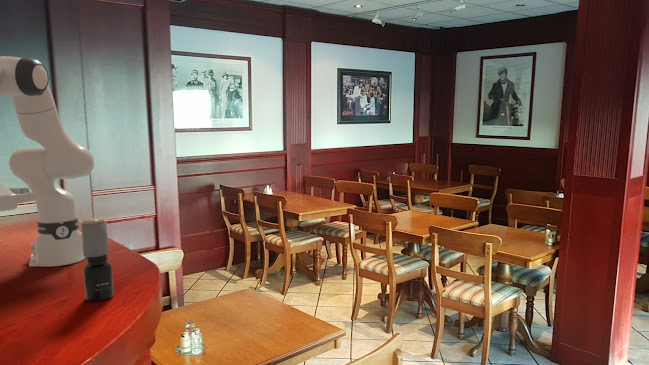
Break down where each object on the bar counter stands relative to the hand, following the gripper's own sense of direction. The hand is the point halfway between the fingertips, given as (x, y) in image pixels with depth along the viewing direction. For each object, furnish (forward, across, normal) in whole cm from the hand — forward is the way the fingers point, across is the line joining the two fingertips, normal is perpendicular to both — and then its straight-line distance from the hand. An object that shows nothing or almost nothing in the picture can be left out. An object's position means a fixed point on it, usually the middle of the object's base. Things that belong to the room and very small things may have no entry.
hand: (32, 193), depth 121 cm
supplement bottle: (+12, -5, +30) cm, 32 cm away
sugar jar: (+12, -5, +17) cm, 22 cm away
